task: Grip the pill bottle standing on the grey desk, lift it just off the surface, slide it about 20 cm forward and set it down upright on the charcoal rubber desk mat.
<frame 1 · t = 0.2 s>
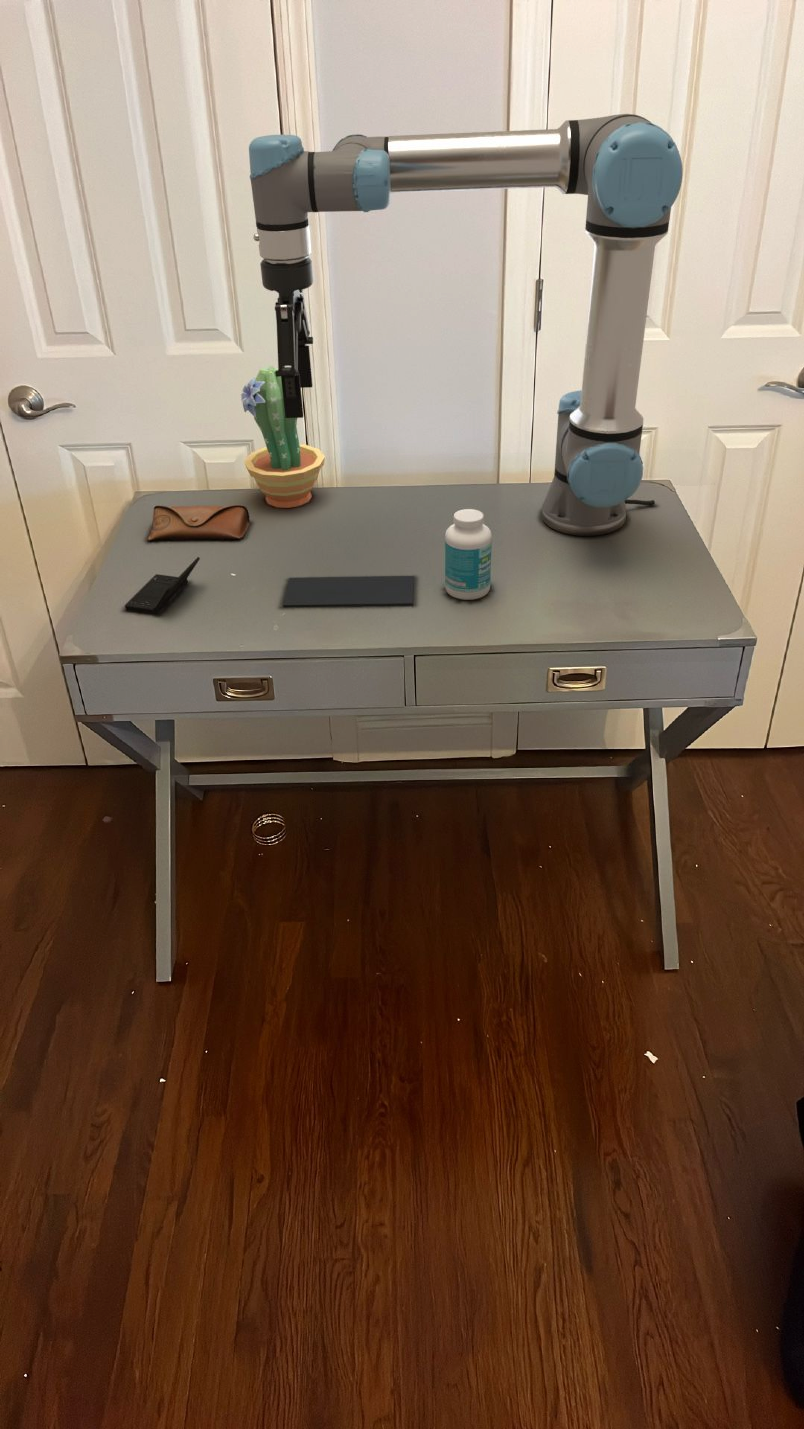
hand: (299, 401, 158), 28 cm above the table, tool pointing down, fingers open, 13 cm apart
potted cactus: (288, 498, 195), on the table
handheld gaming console: (166, 598, 165), on the table
desk mat: (349, 592, 164), on the table
sunglasses case: (199, 532, 184), on the table
pill bottle: (467, 591, 164), on the table
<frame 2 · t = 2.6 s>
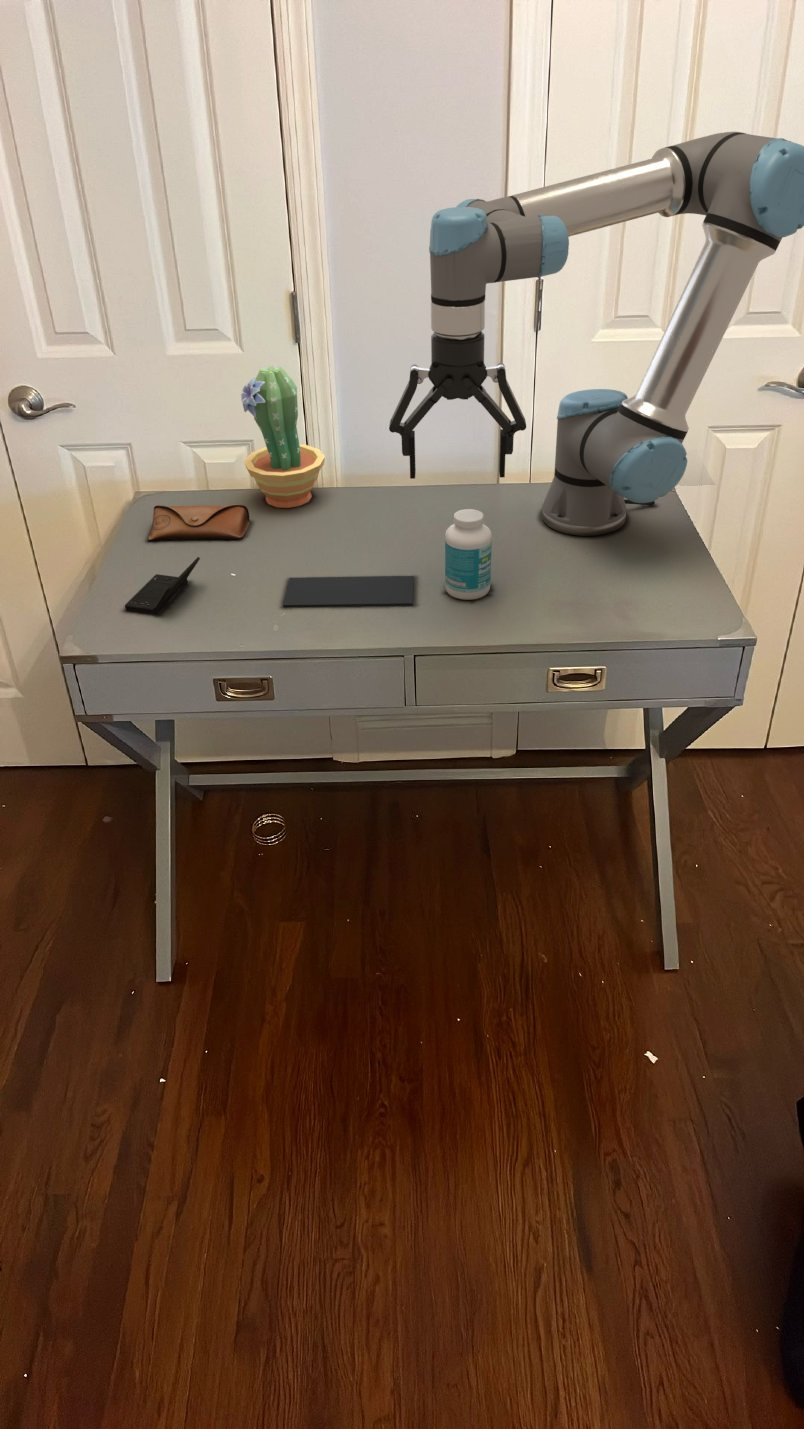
hand: (457, 474, 152), 20 cm above the table, tool pointing down, fingers open, 13 cm apart
nothing on the table moved.
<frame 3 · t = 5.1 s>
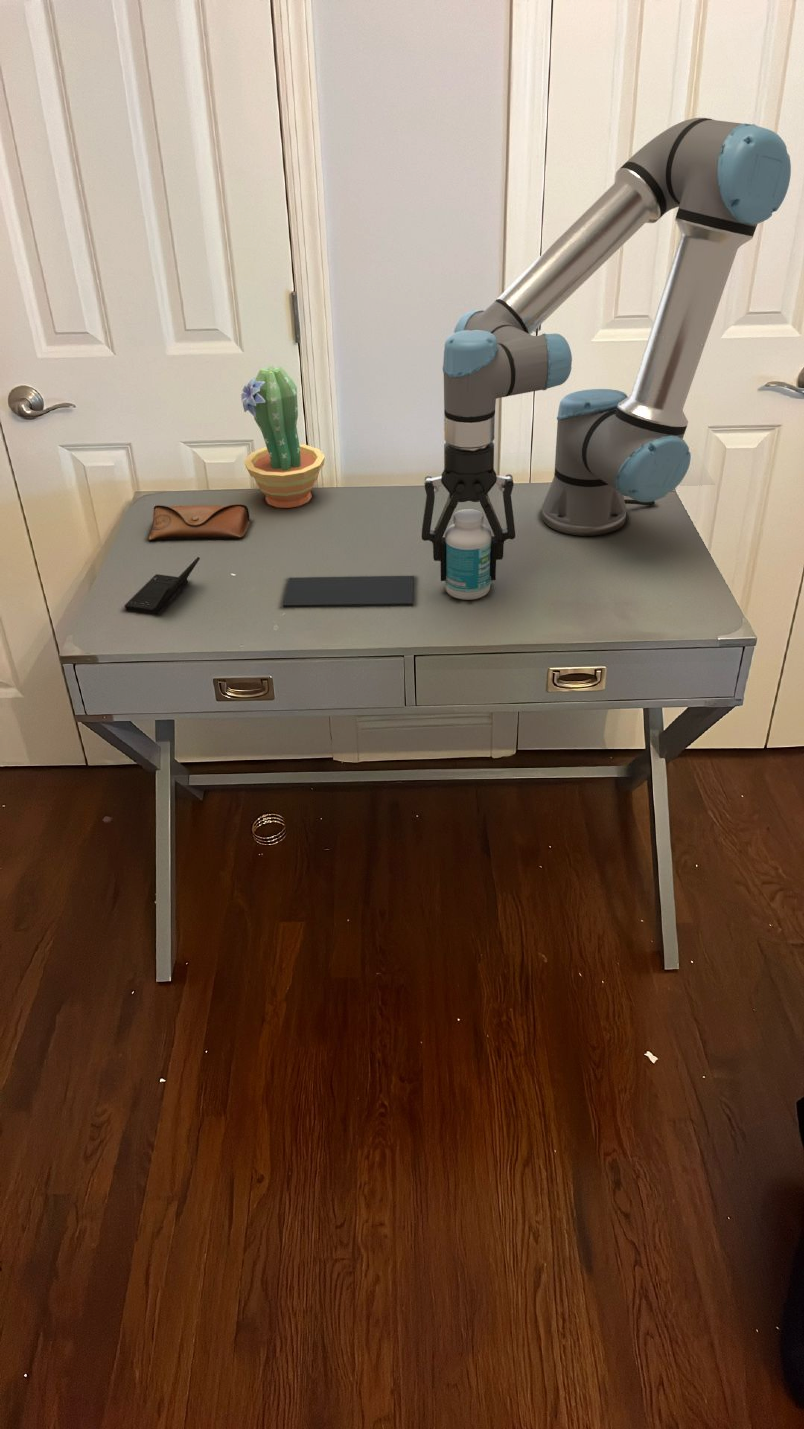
hand: (467, 576, 162), 3 cm above the table, tool pointing down, fingers closed on pill bottle, 7 cm apart
pill bottle: (467, 591, 164), on the table, touching gripper
everything else where it was.
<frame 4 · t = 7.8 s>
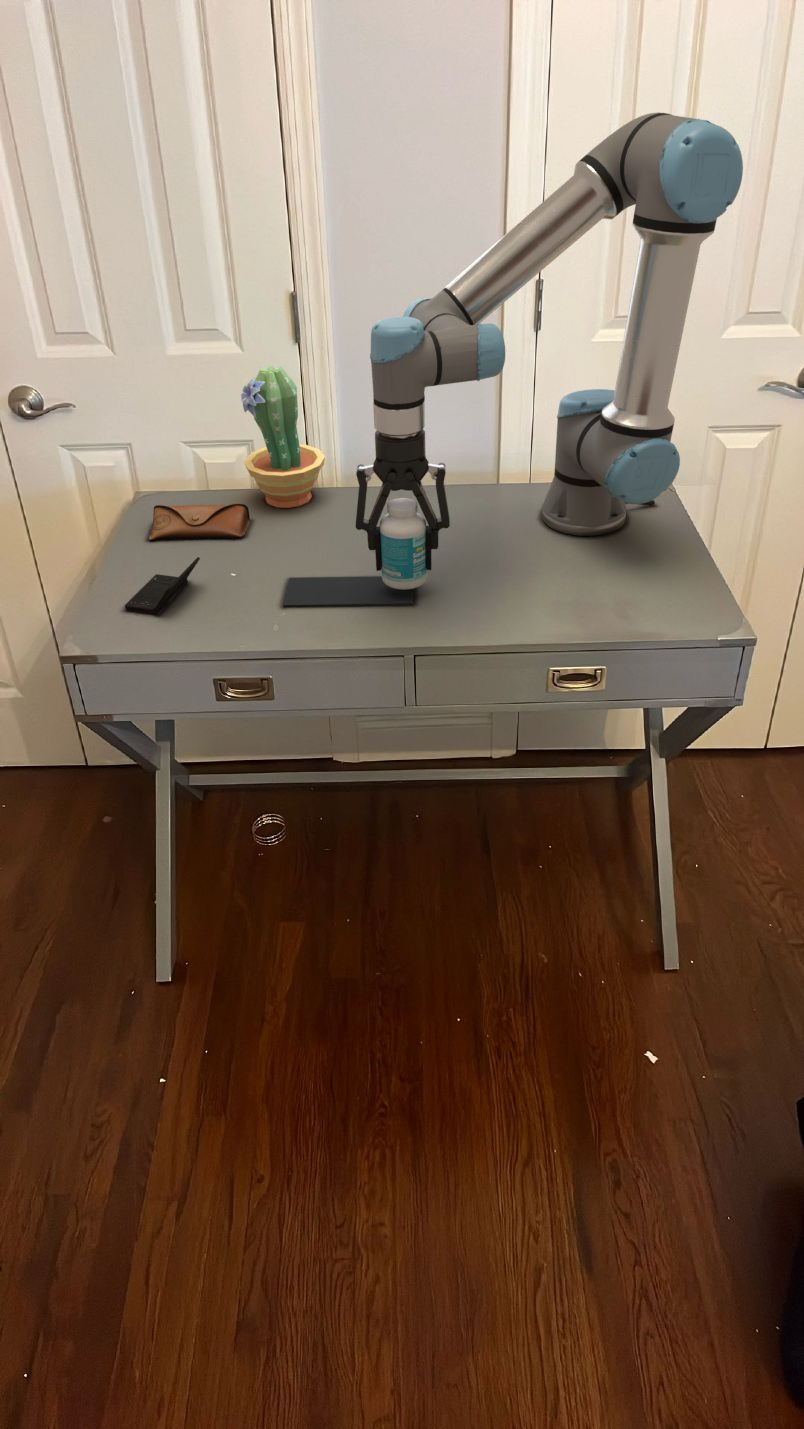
hand: (404, 566, 161), 5 cm above the table, tool pointing down, fingers closed on pill bottle, 7 cm apart
pill bottle: (404, 581, 163), point 2 cm above the table, touching gripper
everything else where it was.
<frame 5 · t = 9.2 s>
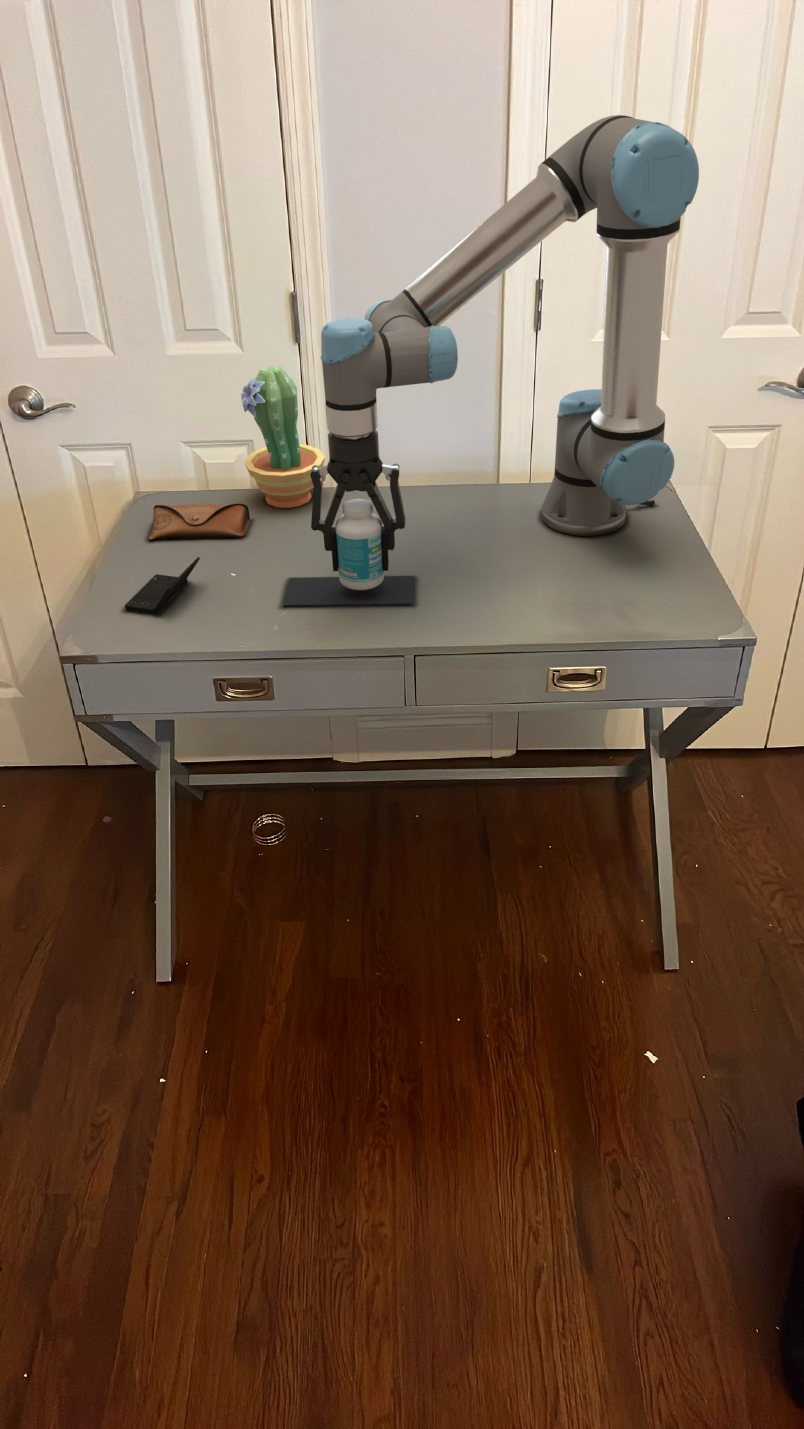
hand: (361, 566, 161), 5 cm above the table, tool pointing down, fingers closed on pill bottle, 7 cm apart
pill bottle: (362, 582, 163), point 2 cm above the table, touching gripper
everything else where it was.
when the fingers open (3 cm above the table, at t = 10.6 s): pill bottle stays where it is, resting on desk mat.
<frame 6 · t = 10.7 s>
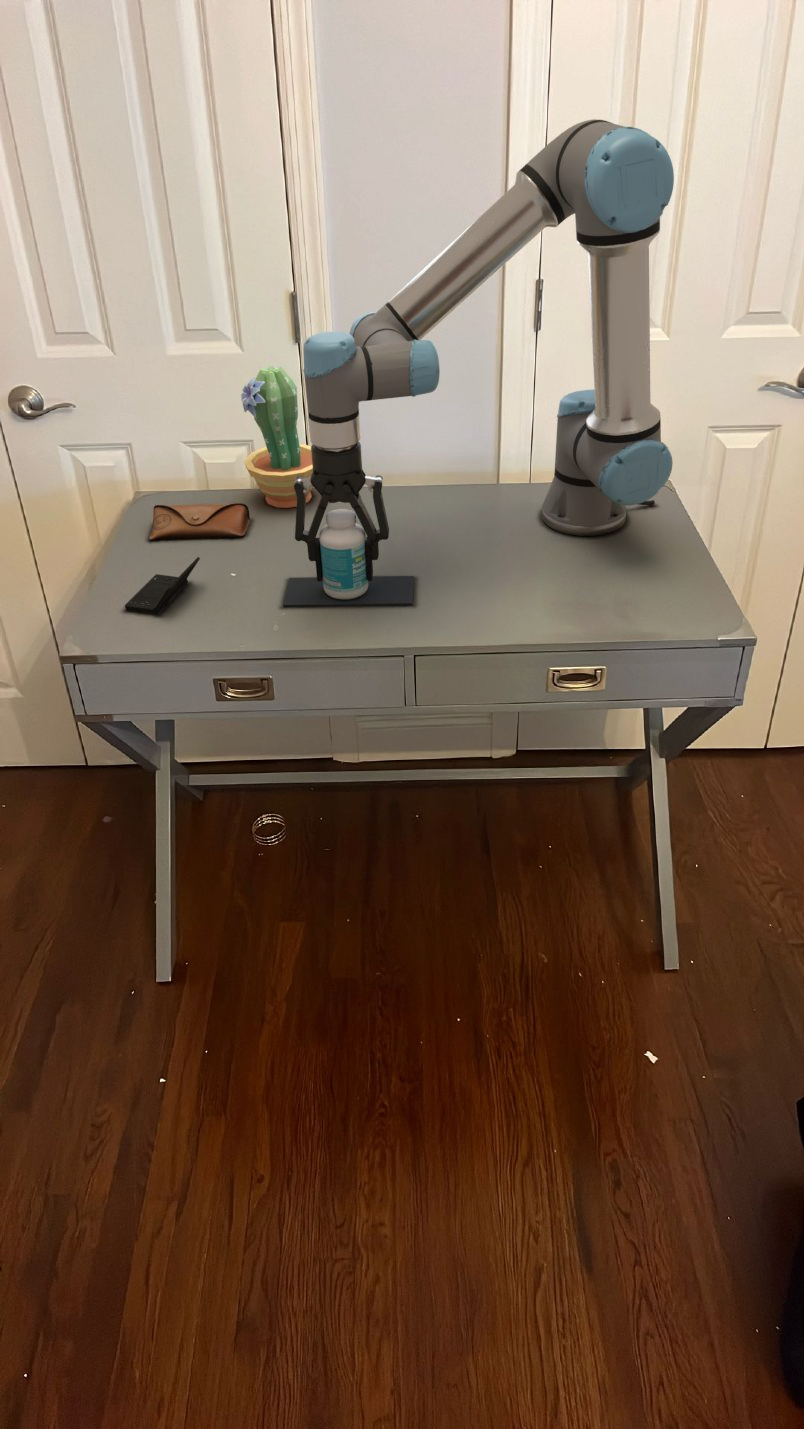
hand: (345, 576, 163), 3 cm above the table, tool pointing down, fingers open, 7 cm apart
pill bottle: (346, 591, 164), resting on desk mat
everything else where it was.
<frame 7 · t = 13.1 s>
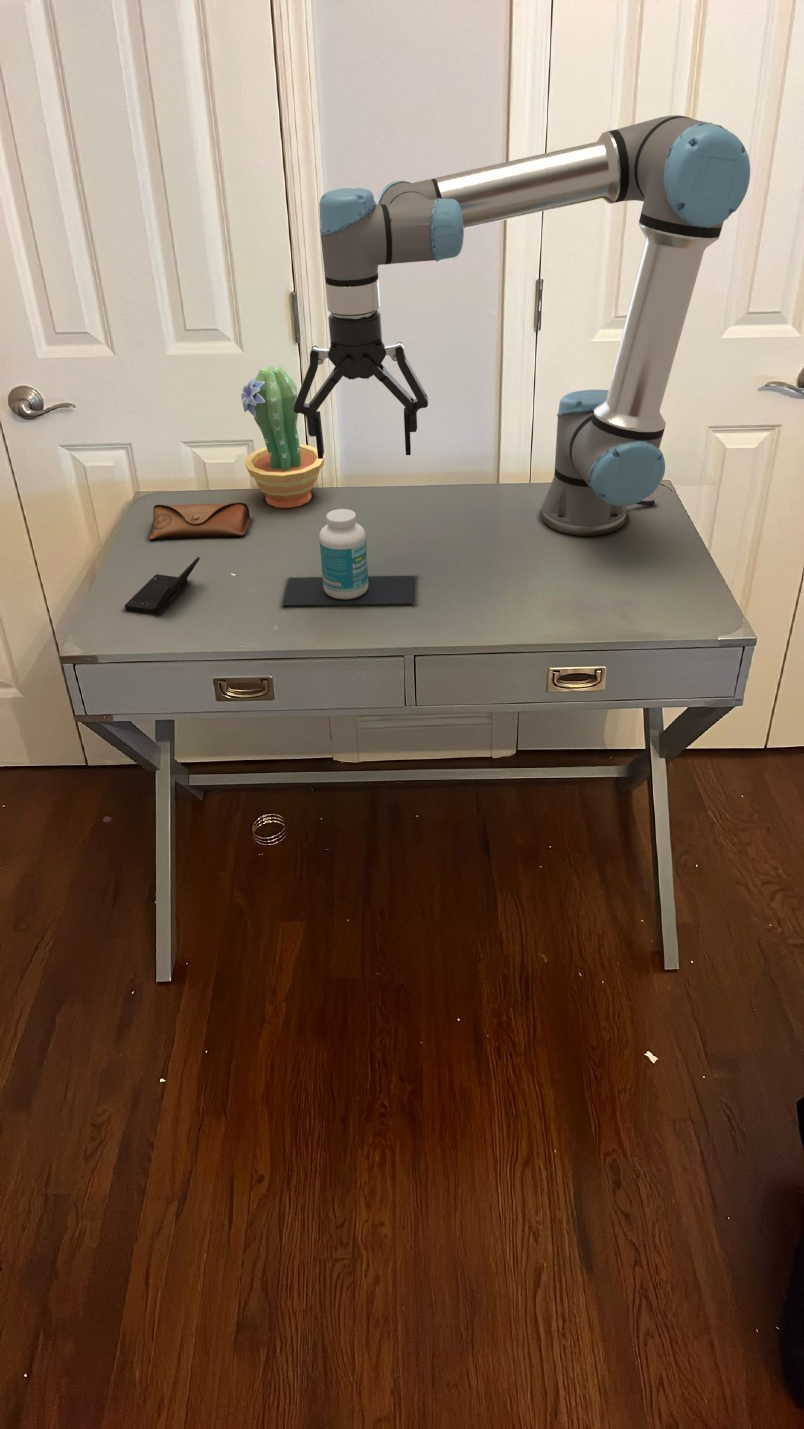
hand: (364, 453, 155), 22 cm above the table, tool pointing down, fingers open, 13 cm apart
nothing on the table moved.
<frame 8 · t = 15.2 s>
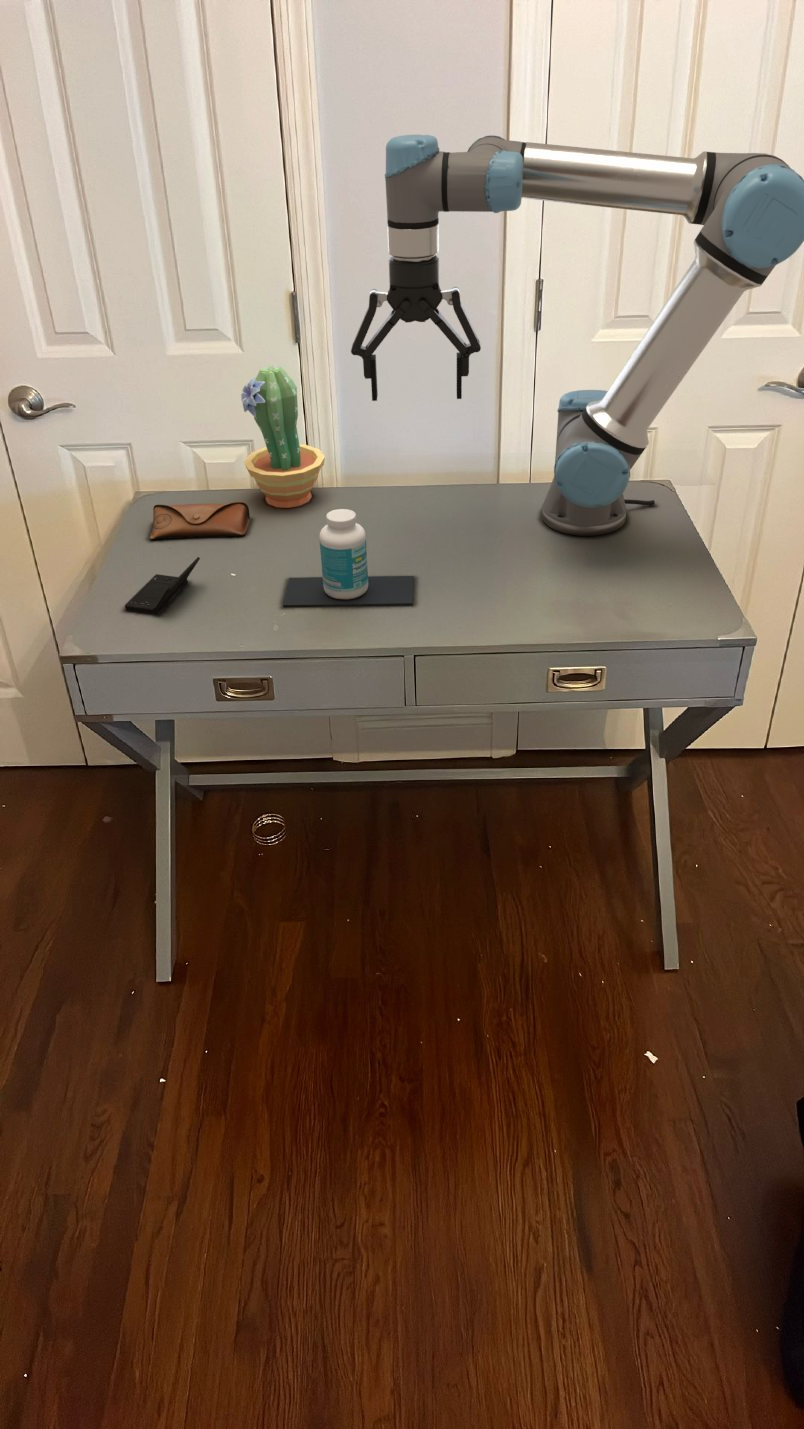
hand: (416, 397, 161), 27 cm above the table, tool pointing down, fingers open, 13 cm apart
nothing on the table moved.
at the end: pill bottle inside the target area (0.0 cm from its centre), resting on desk mat; pill bottle touching desk mat; pill bottle tilted 0° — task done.
